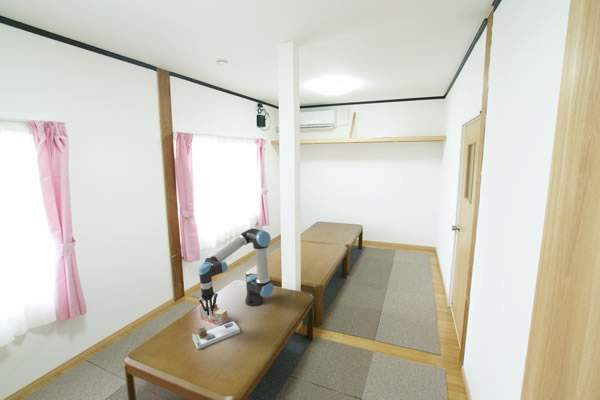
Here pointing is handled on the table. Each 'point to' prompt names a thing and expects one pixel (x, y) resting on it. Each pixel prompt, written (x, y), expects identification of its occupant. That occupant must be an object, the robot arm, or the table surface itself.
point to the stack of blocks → (214, 315)
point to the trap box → (216, 334)
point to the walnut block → (202, 332)
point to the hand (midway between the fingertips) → (210, 318)
